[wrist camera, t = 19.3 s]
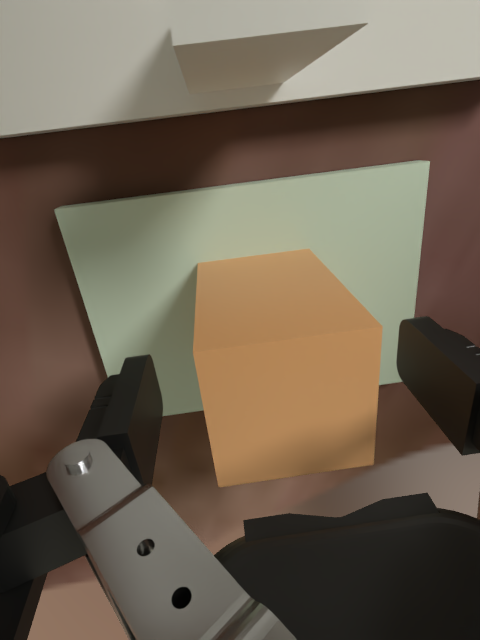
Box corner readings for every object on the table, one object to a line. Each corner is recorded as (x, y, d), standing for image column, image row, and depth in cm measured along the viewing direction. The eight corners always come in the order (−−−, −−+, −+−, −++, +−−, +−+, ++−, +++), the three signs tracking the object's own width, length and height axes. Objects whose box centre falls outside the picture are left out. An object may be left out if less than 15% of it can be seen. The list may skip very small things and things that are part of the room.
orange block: (308, 248, 15) (382, 326, 9) (313, 397, 18) (369, 531, 12) (197, 263, 15) (193, 352, 9) (221, 411, 18) (230, 552, 12)
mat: (419, 160, 15) (430, 161, 14) (399, 371, 19) (407, 380, 19) (61, 206, 14) (53, 209, 14) (125, 411, 19) (122, 422, 18)
